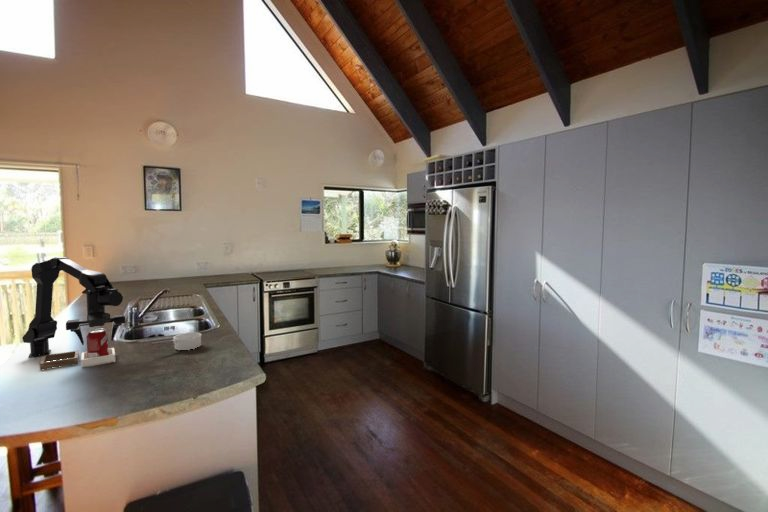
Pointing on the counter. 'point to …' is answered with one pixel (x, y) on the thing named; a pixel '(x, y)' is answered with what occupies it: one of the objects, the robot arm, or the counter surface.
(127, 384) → the counter surface
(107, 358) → the rimmed tray
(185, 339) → the saucepan
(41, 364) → the walnut holder
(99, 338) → the soda can
